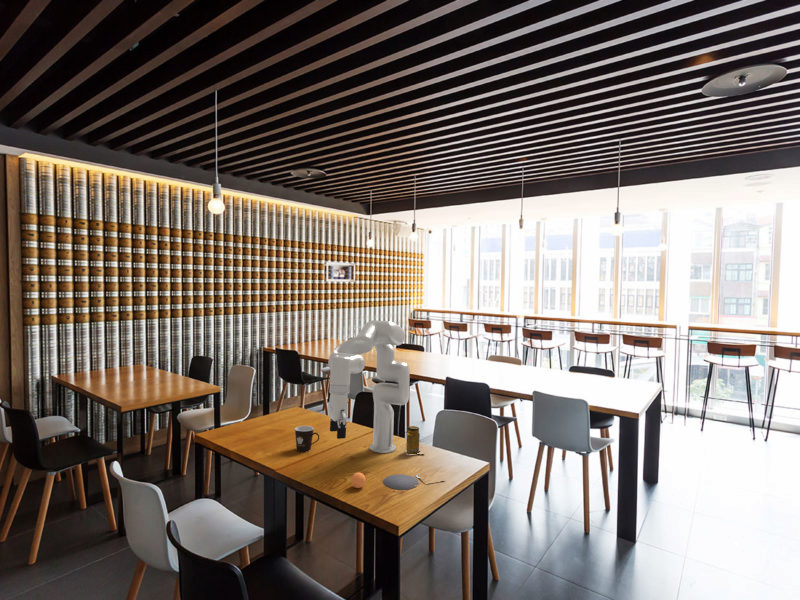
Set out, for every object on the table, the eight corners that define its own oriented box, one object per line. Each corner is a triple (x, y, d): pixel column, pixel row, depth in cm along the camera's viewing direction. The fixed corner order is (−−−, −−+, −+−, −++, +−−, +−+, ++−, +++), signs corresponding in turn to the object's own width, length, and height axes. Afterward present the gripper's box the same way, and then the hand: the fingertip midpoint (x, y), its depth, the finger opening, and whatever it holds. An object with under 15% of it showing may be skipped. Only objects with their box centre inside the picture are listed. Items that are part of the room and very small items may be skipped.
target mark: (377, 477, 174) (377, 477, 174) (408, 472, 180) (408, 472, 180) (392, 492, 161) (392, 491, 161) (425, 486, 167) (425, 485, 167)
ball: (348, 485, 165) (349, 471, 165) (362, 483, 168) (362, 469, 168) (353, 491, 160) (354, 476, 160) (367, 489, 163) (368, 474, 163)
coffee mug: (290, 449, 203) (291, 427, 203) (306, 445, 209) (307, 424, 209) (304, 456, 194) (305, 434, 194) (320, 452, 200) (321, 430, 200)
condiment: (404, 450, 207) (405, 425, 207) (422, 450, 208) (423, 425, 208) (406, 455, 200) (407, 429, 200) (424, 455, 201) (425, 429, 201)
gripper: (324, 385, 169) (322, 429, 168) (336, 393, 153) (333, 442, 152) (342, 384, 172) (340, 427, 171) (356, 392, 156) (354, 440, 155)
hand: (337, 434), depth 162 cm, fingers open, 9 cm apart
